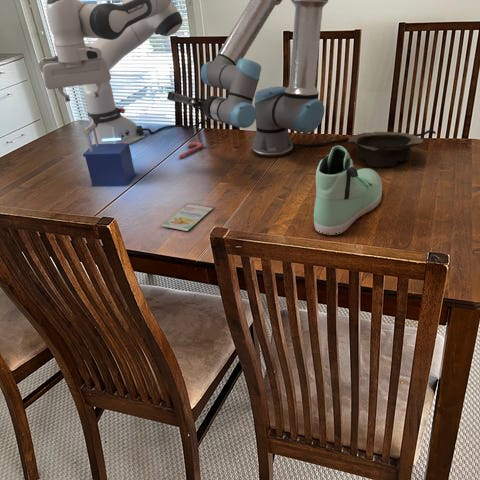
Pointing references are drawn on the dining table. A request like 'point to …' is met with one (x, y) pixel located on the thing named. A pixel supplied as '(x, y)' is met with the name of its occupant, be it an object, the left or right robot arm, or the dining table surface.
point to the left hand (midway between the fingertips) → (82, 99)
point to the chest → (111, 169)
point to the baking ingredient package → (187, 217)
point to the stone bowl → (384, 147)
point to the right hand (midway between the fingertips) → (185, 100)
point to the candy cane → (198, 146)
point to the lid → (102, 146)
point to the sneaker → (343, 192)
